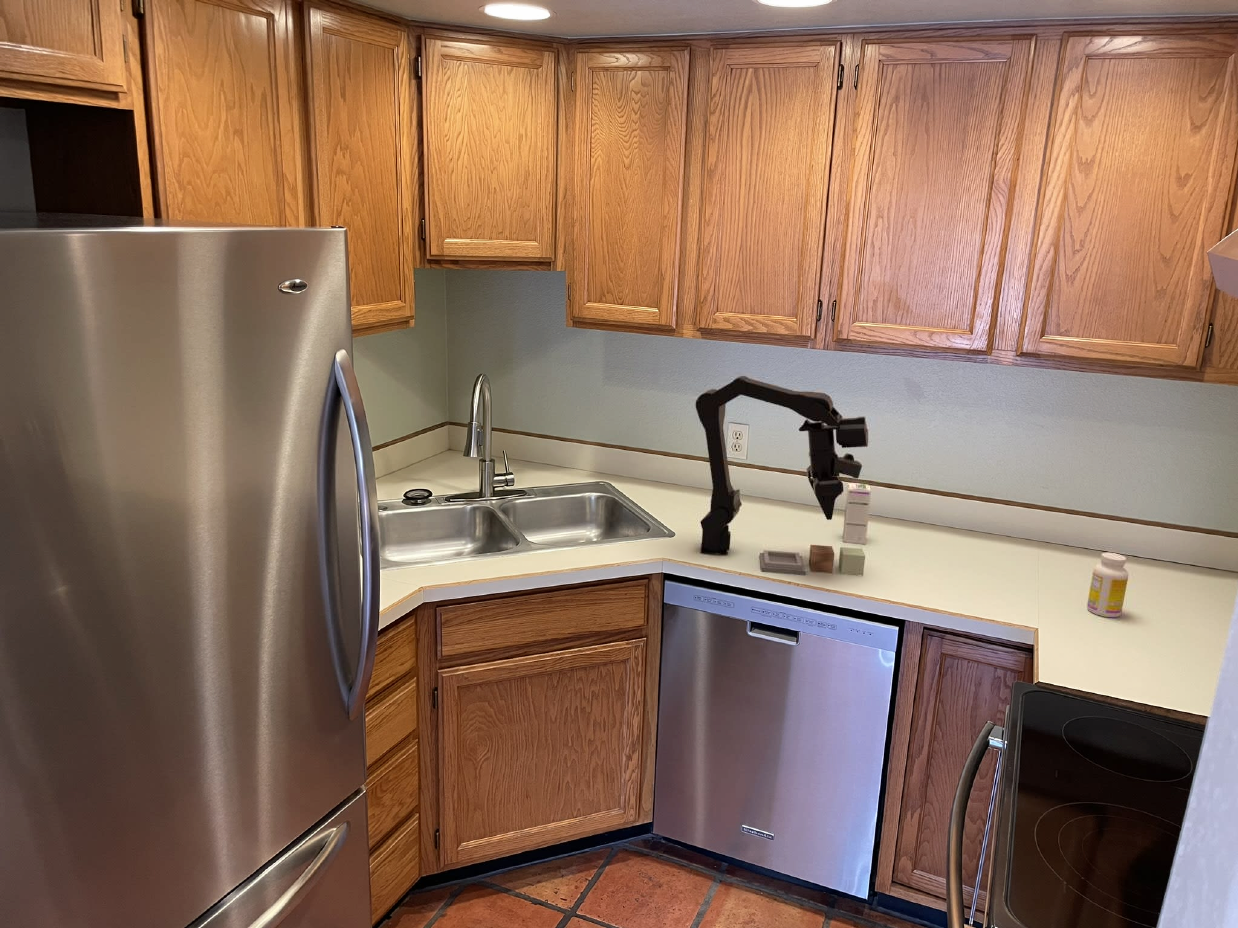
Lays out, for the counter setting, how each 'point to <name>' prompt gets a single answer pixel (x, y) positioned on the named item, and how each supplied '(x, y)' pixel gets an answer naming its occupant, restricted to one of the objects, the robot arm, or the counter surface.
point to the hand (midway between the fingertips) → (826, 514)
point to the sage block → (851, 561)
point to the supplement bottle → (1108, 586)
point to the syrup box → (856, 513)
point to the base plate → (782, 562)
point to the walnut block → (821, 559)
